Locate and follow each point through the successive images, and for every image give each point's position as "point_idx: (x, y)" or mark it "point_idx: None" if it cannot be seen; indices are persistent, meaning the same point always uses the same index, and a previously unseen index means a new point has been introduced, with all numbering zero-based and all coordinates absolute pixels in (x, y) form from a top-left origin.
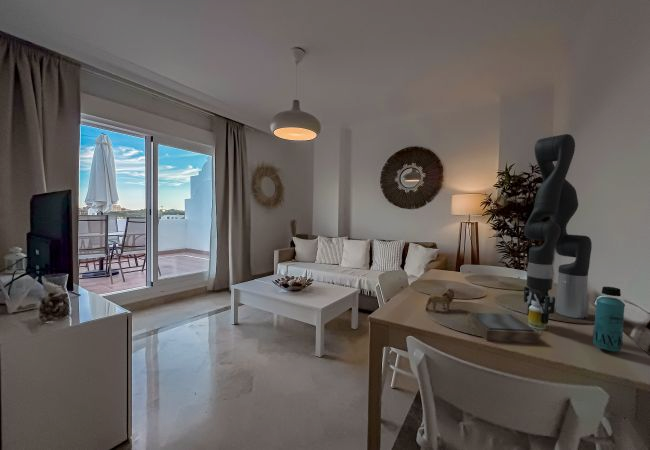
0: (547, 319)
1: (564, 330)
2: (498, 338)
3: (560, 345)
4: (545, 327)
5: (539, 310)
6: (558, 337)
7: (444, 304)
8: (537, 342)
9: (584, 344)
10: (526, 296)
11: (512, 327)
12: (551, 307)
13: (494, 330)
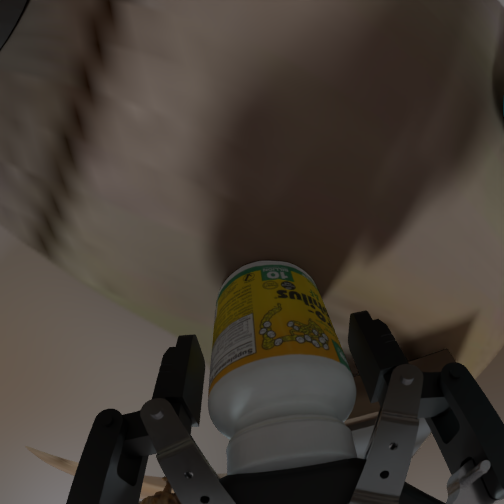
0: (390, 340)
1: (297, 140)
2: None
3: (473, 282)
4: (310, 277)
5: (348, 415)
6: (415, 249)
7: (169, 489)
8: (447, 352)
9: (476, 163)
10: (138, 487)
11: (420, 435)
12: (467, 413)
13: (415, 452)
